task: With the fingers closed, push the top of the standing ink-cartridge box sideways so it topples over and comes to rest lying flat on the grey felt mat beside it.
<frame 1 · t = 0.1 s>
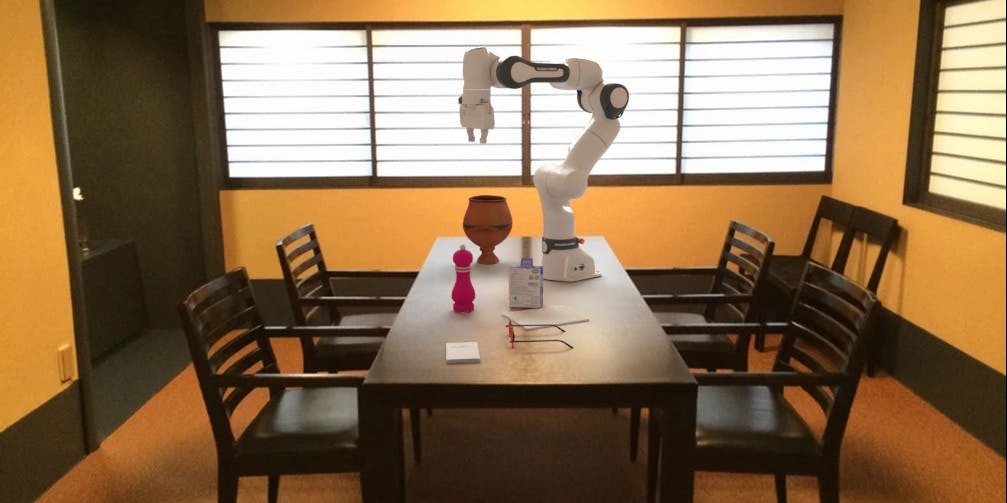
hand: (477, 142, 244), 48 cm above the table, tool pointing down, fingers open, 8 cm apart
ink cartridge box: (526, 307, 229), on the table, touching felt mat
pepper mill: (463, 310, 227), on the table
goblet: (488, 262, 290), on the table
glasses: (538, 342, 199), on the table
external hard drive: (462, 356, 189), on the table
felt mat: (544, 317, 218), on the table
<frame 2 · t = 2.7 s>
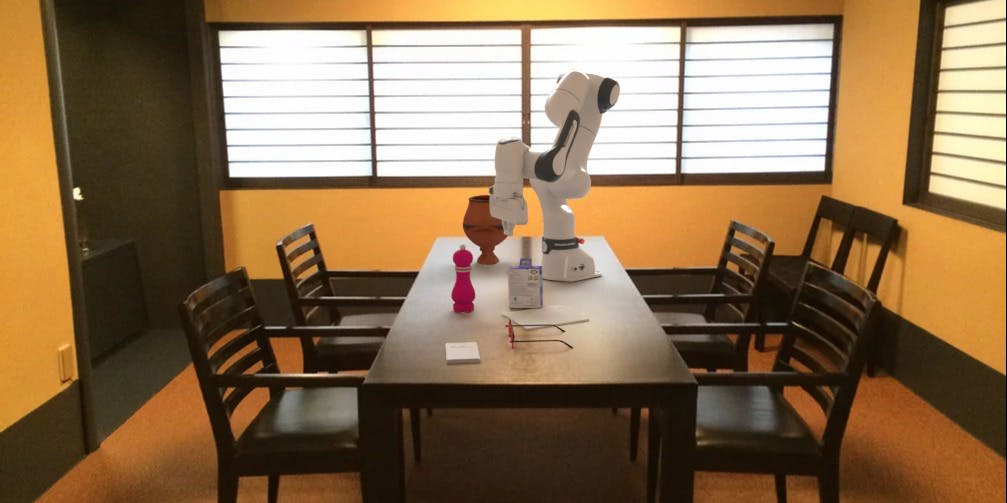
hand: (508, 235, 235), 20 cm above the table, tool pointing down, fingers closed
nothing on the table moved.
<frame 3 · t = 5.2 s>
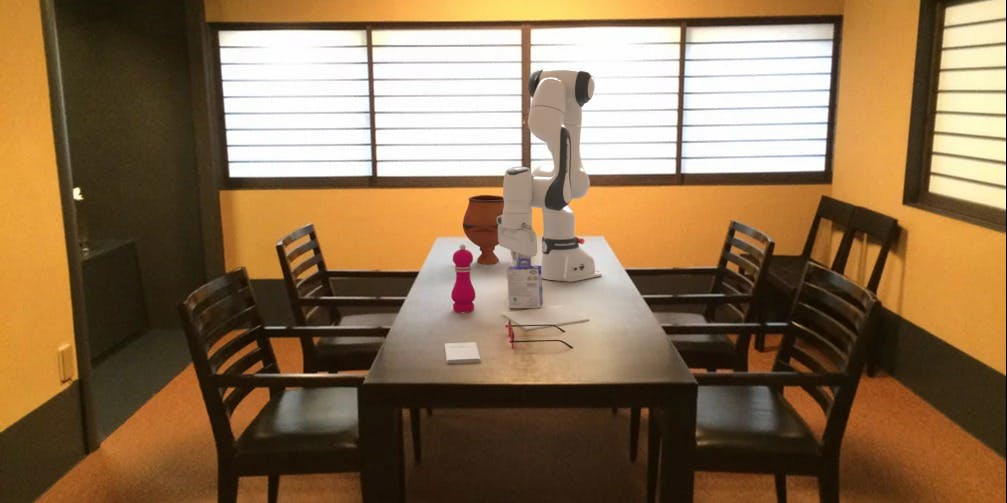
hand: (517, 265, 231), 12 cm above the table, tool pointing down, fingers closed
ink cartridge box: (526, 307, 229), on the table, touching felt mat, gripper
everything else where it was.
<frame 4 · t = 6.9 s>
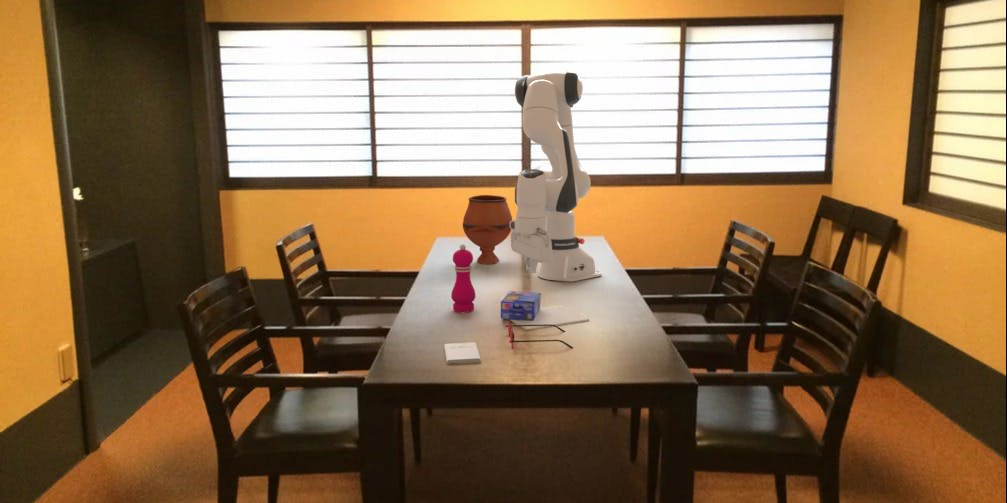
hand: (531, 272, 223), 12 cm above the table, tool pointing down, fingers closed
ink cartridge box: (524, 299, 225), point 3 cm above the table, touching felt mat
everything else where it was.
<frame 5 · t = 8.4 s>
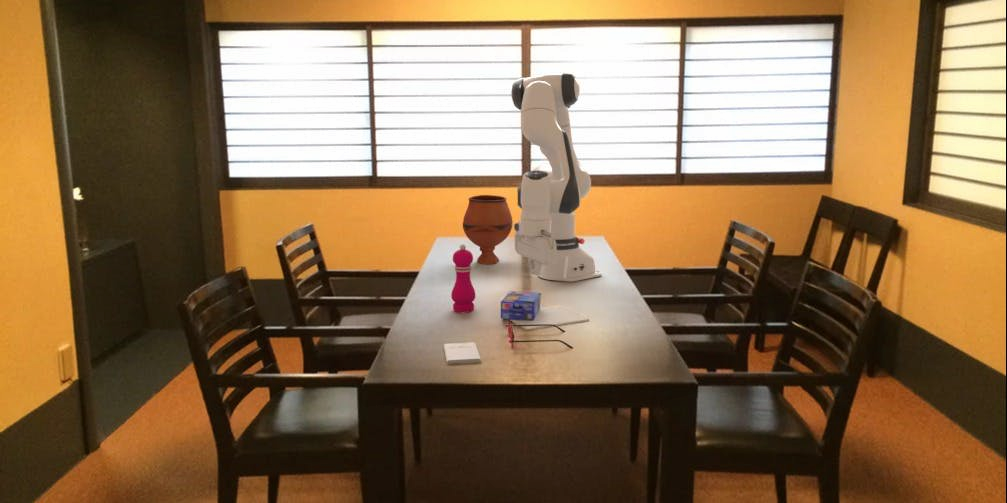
hand: (535, 274, 221), 12 cm above the table, tool pointing down, fingers closed
nothing on the table moved.
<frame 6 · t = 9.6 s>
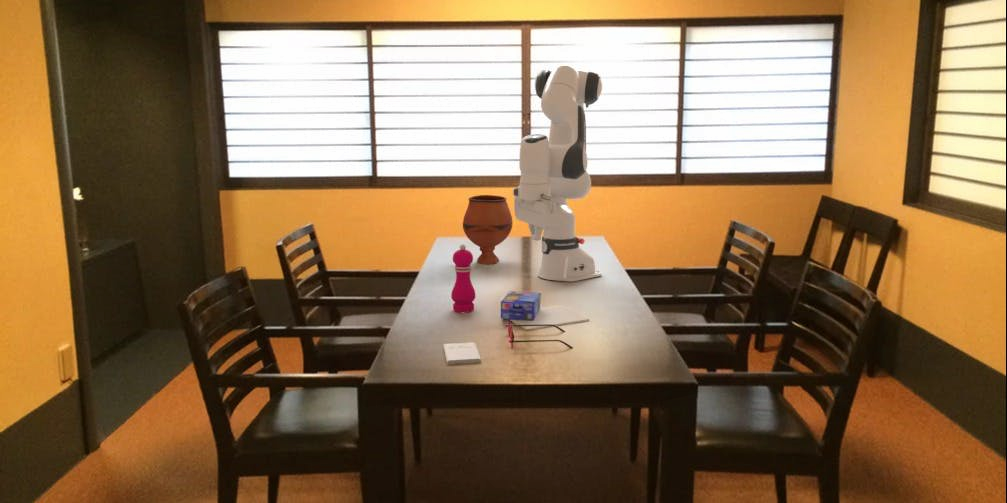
hand: (535, 239, 219), 22 cm above the table, tool pointing down, fingers closed
nothing on the table moved.
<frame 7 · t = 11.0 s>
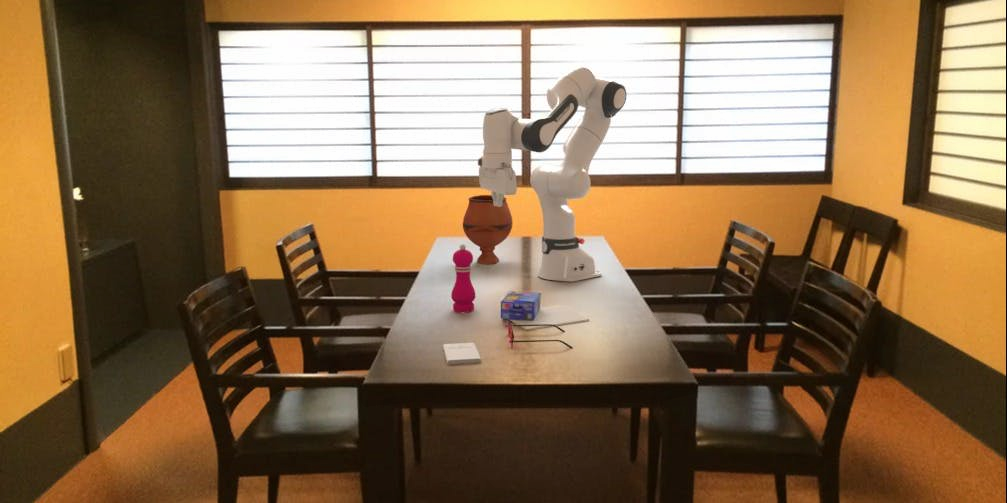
hand: (497, 206, 236), 29 cm above the table, tool pointing down, fingers closed
nothing on the table moved.
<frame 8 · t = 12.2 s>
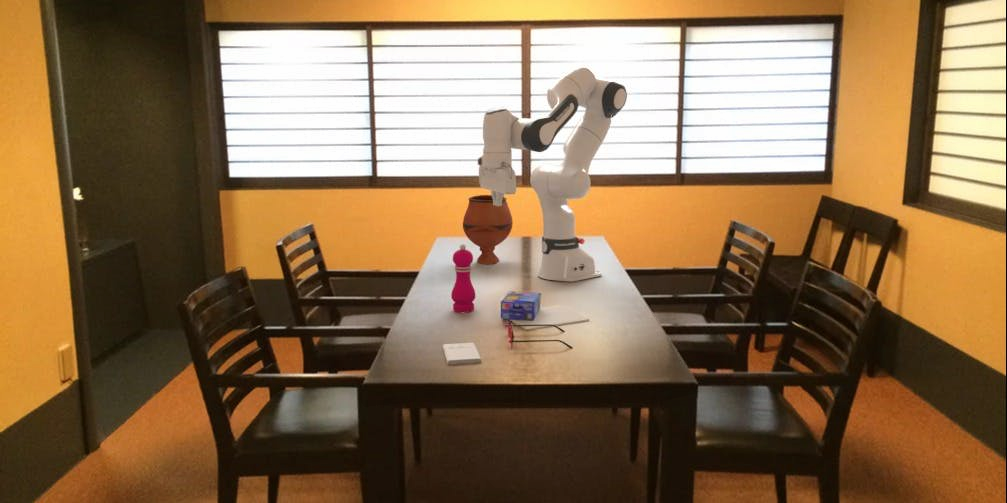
hand: (497, 205, 236), 29 cm above the table, tool pointing down, fingers closed
nothing on the table moved.
at the end: ink cartridge box tilted 92°; ink cartridge box inside the target area (10.5 cm from its centre), point 3.3 cm above the table; the gripper is holding nothing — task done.
